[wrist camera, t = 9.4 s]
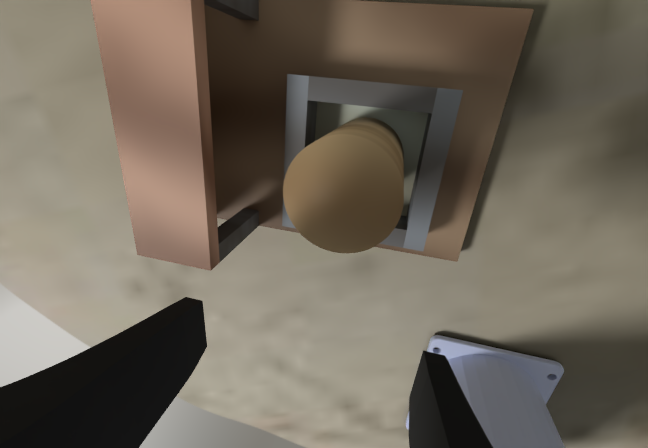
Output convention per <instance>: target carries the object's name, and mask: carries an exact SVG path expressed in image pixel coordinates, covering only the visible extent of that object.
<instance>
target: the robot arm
mask: <svg viewBox="0 0 648 448" xmlns="http://www.w3.org/2000/svg"><path fill="white" fill-rule="evenodd" d="M206 347H207V342H206V332H205V322H204V312H203V302H202V301H201V300H196V299H192V298H187V297H185V298H183V299H181V300H179V301H178V302H176V303H174V304H172V305H170V306H168V307H166V308H165V309H163V310H161V311H159V312H157V313H156V314H154V315H152V316H150V317H148V318H147V319H145V320H143V321H141V322H139V323H137V324H136V325H134V326H132V327H130V328H128V329H126V330H125V331H123V332H121V333H119V334H117V335H115V336H113V337H111V338H109V339H107V340H105V341H103V342H101V343H99V344H97V345H95V346H93V347H91V348H90V349H87V350H86V351H84V352H82V353H80V354H78V355H75V356H74V357H71V358H69V359H67V360H65V361H63V362H60V363H58V364H56V365H54V366H52V367H49V368H47V369H45V370H42V371H40V372H38V373H35V374H33V375H31V376H29V377H26V378H24V379H21V380H19V381H16V382H13V383H11V384H8V385H6V386H3V387H0V448H139V447H140V445H141V444H142V442H143V441H144V439H145V438H146V437H147V435H148V434H149V433H150V431H151V430H152V428H153V427H154V426H155V424H156V423H157V422H158V420H159V419H160V418H161V416H162V415H163V413H164V412H165V411H166V409H167V408H168V407H169V405H170V404H171V402H172V401H173V399H174V398H175V397H176V395H177V394H178V393H179V391H180V390H181V389H182V387H183V386H184V384H185V383H186V381H187V380H188V379H189V377H190V376H191V374H192V372H193V371H194V369H195V367H196V366H197V364H198V362H199V360H200V358H201V356H202V355H203V353H204V351H205V349H206ZM435 347H438V348H439V349H434V348H435ZM563 373H564V369H563V367H562V365H561V364H560V363H559V362H556V361H552V360H548V359H544V358H539V357H535V356H530V355H526V354H521V353H517V352H512V351H508V350H503V349H499V348H494V347H490V346H485V345H481V344H476V343H472V342H468V341H463V340H459V339H454V338H450V337H445V336H441V335H435V336H433V337H431V339H430V342H429V345H428V349H427V351H423V354H422V357H421V360H420V364H419V367H418V371H417V374H416V377H415V381H414V384H413V387H412V391H411V394H410V401H409V412H408V416H407V419H406V428H407V429H408V430H409V445H410V448H565V446H564V444H563V442H562V439H561V437H560V435H559V433H558V431H557V428H556V426H555V424H554V422H553V420H552V417H551V415H550V413H549V411H548V408H547V406H546V403H547V402H548V400H549V398H550V396H551V394H552V393H553V391H554V389H555V387H556V386H557V384H558V382H559V380H560V378H561V377H562V375H563ZM549 374H552V375H549Z"/></svg>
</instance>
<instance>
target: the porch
mask: <svg viewBox="0 0 648 448" xmlns="http://www.w3.org/2000/svg"><path fill="white" fill-rule="evenodd" d="M91 4H92V10H93V15H94V21H95V26H96V32H97V37H98V42H99V48H100V53H101V59H102V64H103V70H104V75H105V81H106V86H107V91H108V97H109V102H110V108H111V113H112V119H113V124H114V130H115V135H116V140H117V146H118V151H119V157H120V162H121V168H122V173H123V178H124V184H125V189H126V195H127V200H128V206H129V211H130V217H131V222H132V227H133V233H134V238H135V244H136V249H137V255H141V256H145V257H150V258H155V259H159V260H164V261H168V262H173V263H178V264H182V265H187V266H192V267H196V268H201V269H206V270H210V271H211V270H212V269H213V268H214V267H215V266H216V265H217V264H218V263H219V262H220V261H222V260H223V259H224V258H225V257H226V256H227V255H228V254H229V253H230V252H231V251H232V250H233V249H234V248H235V247H236V246H237V245H239V244H240V243H241V242H242V241H243V240H244V239H245V238H246V237H247V236H248V235H249V234H250V233H251V232H252V231H253V230H254V229H255V228H257V227H258V226H264V227H270V228H275V229H281V230H286V231H292V232H297V233H299V231H298V230H297V229H296V228H295V226H294V225H293V224H292V222H291V220H290V218H289V216H288V214H287V211H286V208H285V205H284V199H283V185H284V179H285V175H286V172H287V170H288V168H289V166H290V164H291V162H292V161H293V159H294V158H295V157H296V156H297V154H298V153H299V152H301V151H302V150H303V149H304V148H305V147H307V146H308V145H310V144H311V143H313V142H315V141H316V140H318V139H320V138H321V137H323V136H325V135H327V134H328V133H330V132H332V131H333V130H335V129H337V128H338V127H340V126H342V125H343V124H345V123H347V122H349V121H351V120H354V119H357V118H364V117H367V118H375V119H378V120H381V121H383V122H385V123H386V124H388V125H389V126H390V127H391V128H392V129H394V131H395V132H396V133H397V135H398V136H399V138H400V140H401V143H402V146H403V152H404V204H403V210H402V214H401V217H400V219H399V221H398V224H397V225H396V227H395V228H394V230H393V231H392V232H391V234H390V235H389V236H388V237H387V238H386V239H385V240H383V241H382V242H381V243H379V244H378V245H376V246H374V247H379V248H385V249H390V250H396V251H401V252H407V253H412V254H418V255H423V256H429V257H434V258H440V259H445V260H451V261H456V262H457V261H458V258H459V254H460V251H461V248H462V245H463V241H464V238H465V235H466V231H467V228H468V225H469V222H470V218H471V215H472V212H473V208H474V205H475V202H476V199H477V195H478V192H479V189H480V185H481V182H482V179H483V176H484V172H485V169H486V166H487V162H488V159H489V156H490V153H491V149H492V146H493V143H494V139H495V136H496V133H497V130H498V126H499V123H500V120H501V116H502V113H503V110H504V107H505V103H506V100H507V97H508V93H509V90H510V87H511V84H512V80H513V77H514V74H515V70H516V67H517V64H518V61H519V57H520V54H521V51H522V47H523V44H524V41H525V37H526V34H527V31H528V28H529V24H530V21H531V18H532V14H533V11H534V9H526V8H505V7H484V6H463V5H442V4H421V3H400V2H379V1H358V0H91ZM217 218H221V219H226V220H227V221H226V222H225V223H223V224H222V225H221V226H219V227H218V226H217Z"/></svg>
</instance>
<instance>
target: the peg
mask: <svg viewBox="0 0 648 448" xmlns="http://www.w3.org/2000/svg"><path fill="white" fill-rule="evenodd" d="M283 199H284V205H285V208H286V211H287V214H288V216H289V218H290V220H291V222H292V224H293V225H294V226H295V228H296V229H297V230H298V231H299V233H300V234H301V235H302V236H303V237H305V238H306V239H307V240H308V241H310V242H311V243H313V244H314V245H316V246H318V247H320V248H323V249H325V250H328V251H332V252H337V253H356V252H361V251H365V250H367V249H370V248H372V247H374V246H376V245H378V244H379V243H381V242H382V241H383V240H385V239H386V238H387V237H388V236H389V235H390V234H391V232H392V231H393V230H394V228H395V227H396V225H397V224H398V221H399V219H400V217H401V214H402V210H403V204H404V152H403V146H402V143H401V140H400V138H399V136H398V135H397V133H396V132H395V131H394V129H392V128H391V127H390V126H389V125H388V124H386V123H385V122H383V121H381V120H378V119H375V118H367V117H364V118H357V119H354V120H351V121H349V122H347V123H345V124H343V125H342V126H340V127H338V128H337V129H335V130H333V131H332V132H330V133H328V134H327V135H325V136H323V137H321V138H320V139H318V140H316V141H315V142H313V143H311V144H310V145H308V146H307V147H305V148H304V149H303V150H302V151H301V152H299V153H298V154H297V156H296V157H295V158H294V159H293V161H292V162H291V164H290V166H289V168H288V170H287V172H286V175H285V179H284V185H283Z"/></svg>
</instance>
